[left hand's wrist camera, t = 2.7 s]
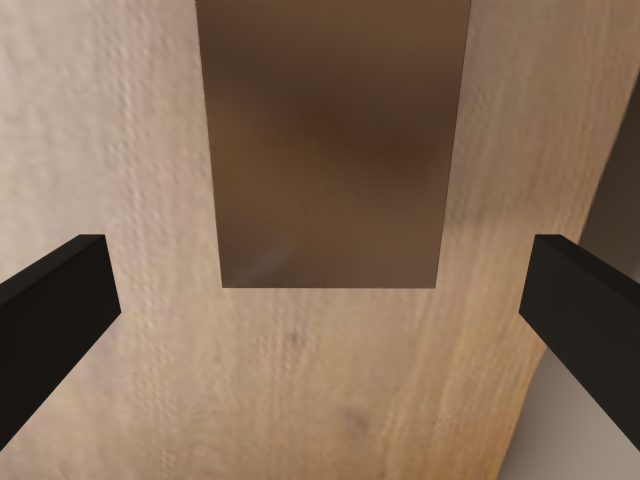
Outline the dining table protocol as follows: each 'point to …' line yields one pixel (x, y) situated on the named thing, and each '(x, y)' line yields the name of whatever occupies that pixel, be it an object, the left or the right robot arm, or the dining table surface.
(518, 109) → the dining table surface
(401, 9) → the cabinet
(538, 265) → the left robot arm
